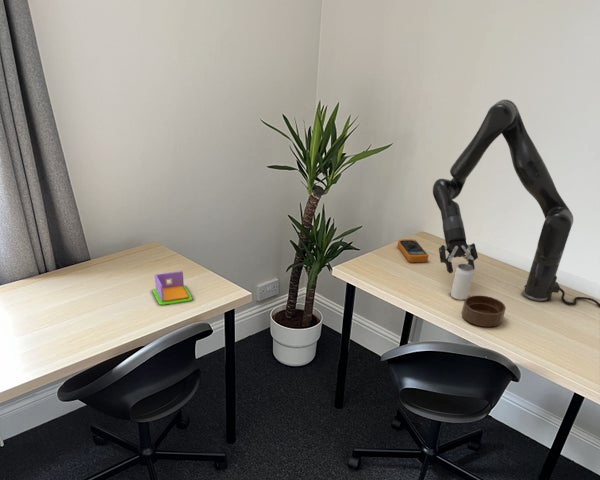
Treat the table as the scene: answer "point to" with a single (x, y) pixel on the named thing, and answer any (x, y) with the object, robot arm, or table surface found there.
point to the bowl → (483, 310)
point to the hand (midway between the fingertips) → (461, 272)
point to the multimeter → (412, 250)
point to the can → (462, 281)
